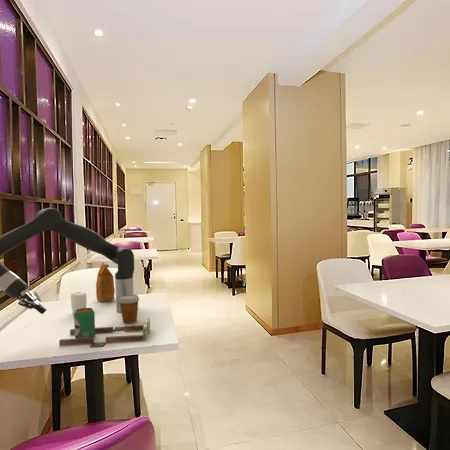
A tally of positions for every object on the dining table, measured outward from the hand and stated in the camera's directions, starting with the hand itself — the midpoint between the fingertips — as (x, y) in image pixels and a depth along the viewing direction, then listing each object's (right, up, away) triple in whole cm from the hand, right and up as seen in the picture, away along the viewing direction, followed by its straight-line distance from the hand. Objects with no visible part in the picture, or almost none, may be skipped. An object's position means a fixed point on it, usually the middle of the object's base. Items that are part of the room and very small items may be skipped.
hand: (44, 312), depth 149 cm
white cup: (-2, -10, +41) cm, 42 cm away
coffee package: (+4, -9, +65) cm, 66 cm away
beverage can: (+16, -12, +2) cm, 20 cm away
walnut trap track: (+25, -11, +3) cm, 28 cm away
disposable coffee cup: (+30, -10, +22) cm, 38 cm away
